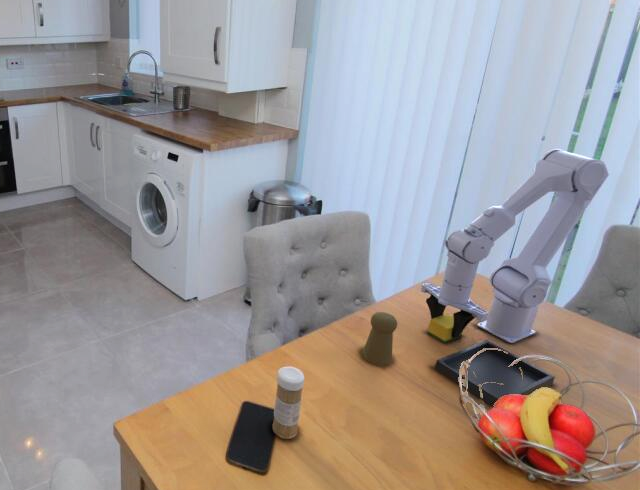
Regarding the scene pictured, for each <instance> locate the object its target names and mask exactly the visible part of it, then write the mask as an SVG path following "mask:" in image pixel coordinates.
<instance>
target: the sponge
mask: <svg viewBox="0 0 640 490" xmlns="http://www.w3.org/2000/svg"><path fill="white" fill-rule="evenodd" d="M453 325H454V316H453V314H450V313H447V312H446V313H443V315H441V316H438V317H436V318H433V319H431V318H430V320H429V324H428V329H427V332H426V333H427V334H428V335H429V336H431V337H433V338H435V339H436V340H438V341H439V342H442V343H444V344H446V343H449V342H451V341H454V340H456V339H459V338H462V335H463V332H464V330H463V331H462V333H461V334H460V336H459V337H456V338H453V337H451V336H452V329H453Z"/></svg>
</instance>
